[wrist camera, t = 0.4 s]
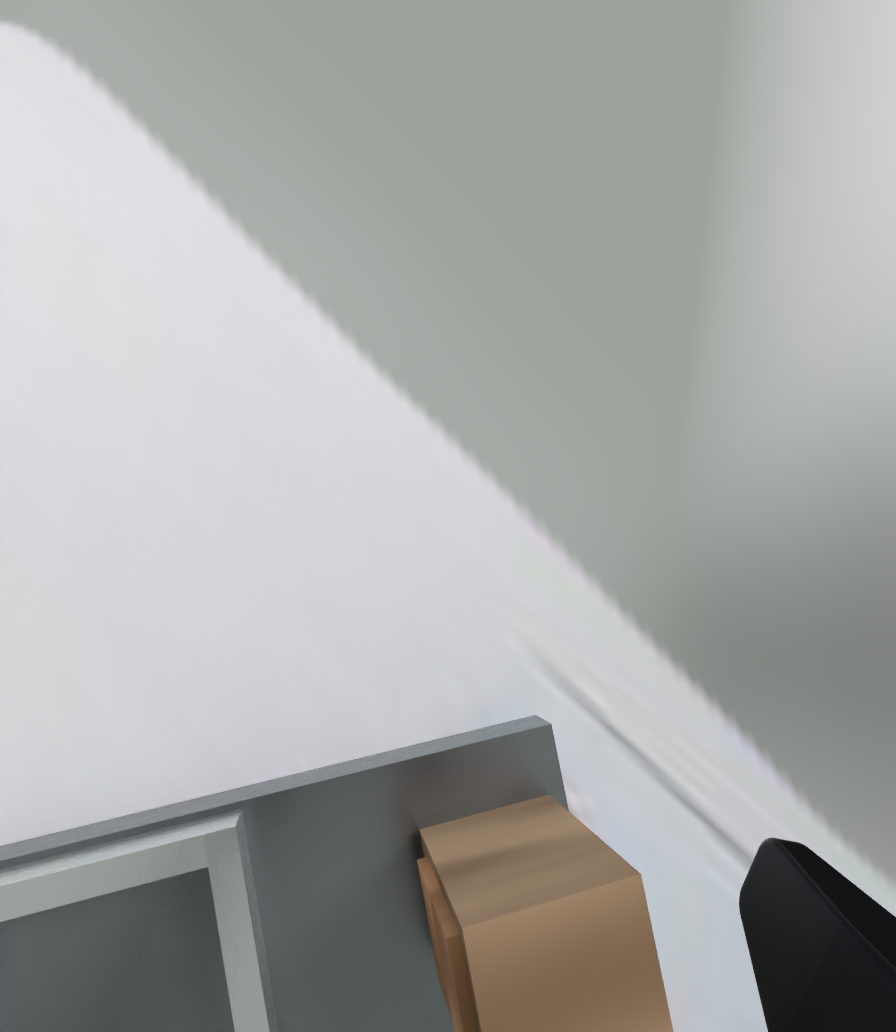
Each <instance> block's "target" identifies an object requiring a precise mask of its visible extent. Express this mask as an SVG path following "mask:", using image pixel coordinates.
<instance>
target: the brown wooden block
mask: <svg viewBox="0 0 896 1032" xmlns="http://www.w3.org/2000/svg"><path fill="white" fill-rule="evenodd" d="M420 836H421V841H422V847H423V852H424V858H421V859H417V864H418V869H419V875H420V880H421V886H422V891H423V897H424V902H425V908H426V913H427V918H428V924H429V929H430V935H431V940H432V946H433V951H434V957H435V962H436V968H437V973H438V978H439V982H440V986H441V989H442V992H443V995H444V998H445V1001H446V1005H447V1008H448V1011H449V1014H450V1017H451V1021H452V1024H453V1027H454V1030H455V1032H673V1028H672V1023H671V1018H670V1013H669V1008H668V1004H667V999H666V994H665V989H664V984H663V979H662V974H661V970H660V965H659V960H658V955H657V950H656V945H655V941H654V936H653V931H652V926H651V921H650V916H649V912H648V907H647V902H646V897H645V892H644V887H643V883H642V878H641V874H640V873H639V872H638V871H637V870H636V869H634V868H633V867H632V866H631V865H630V864H629V863H627V862H626V861H625V860H624V859H623V858H622V857H621V856H619V855H618V854H617V853H616V852H615V851H614V850H613V849H611V848H610V847H609V846H608V845H607V844H606V843H604V842H603V841H602V840H601V839H600V838H599V837H598V836H596V835H595V834H594V833H593V832H592V831H591V830H589V829H588V828H587V827H586V826H585V825H584V824H583V823H581V822H580V821H579V820H578V819H577V818H576V817H574V816H573V815H572V814H571V813H570V812H569V811H568V810H566V809H565V808H564V807H563V806H562V805H561V804H559V803H558V802H557V801H556V800H555V799H554V798H553V797H551V796H550V795H545V796H541V797H538V798H534V799H530V800H527V801H523V802H519V803H516V804H512V805H508V806H504V807H501V808H497V809H493V810H490V811H486V812H482V813H479V814H475V815H471V816H468V817H464V818H460V819H457V820H453V821H449V822H445V823H442V824H438V825H434V826H431V827H427V828H423V829H420Z"/></svg>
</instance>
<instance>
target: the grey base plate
mask: <svg viewBox="0 0 896 1032" xmlns="http://www.w3.org/2000/svg"><path fill="white" fill-rule="evenodd" d="M545 795H550V796H551V797H553V798H554V799H555V800H556V801H557V802H558V803H559V804H561V805H562V806H563V807H564V808H565V809H566V810H568V805H567V800H566V795H565V790H564V785H563V780H562V775H561V770H560V765H559V760H558V755H557V750H556V745H555V740H554V735H553V730H552V725H551V723H549V722H547V721H545V720H544V719H542V718H540V717H538V716H536V715H535V716H531V717H527V718H523V719H519V720H515V721H510V722H506V723H502V724H498V725H494V726H490V727H486V728H482V729H478V730H474V731H470V732H466V733H461V734H457V735H453V736H449V737H445V738H441V739H437V740H433V741H429V742H425V743H421V744H417V745H413V746H408V747H404V748H400V749H396V750H392V751H388V752H384V753H380V754H376V755H372V756H368V757H364V758H359V759H355V760H351V761H347V762H343V763H339V764H335V765H331V766H327V767H323V768H319V769H315V770H311V771H306V772H302V773H298V774H294V775H290V776H286V777H282V778H278V779H274V780H270V781H266V782H262V783H257V784H253V785H249V786H245V787H241V788H237V789H233V790H229V791H225V792H221V793H217V794H213V795H209V796H204V797H200V798H196V799H192V800H188V801H184V802H180V803H176V804H172V805H168V806H164V807H160V808H155V809H151V810H147V811H143V812H139V813H135V814H131V815H127V816H123V817H119V818H115V819H111V820H106V821H102V822H98V823H94V824H90V825H86V826H82V827H78V828H74V829H70V830H66V831H62V832H58V833H53V834H49V835H45V836H41V837H37V838H33V839H29V840H25V841H21V842H17V843H13V844H9V845H4V846H0V1032H455V1030H454V1027H453V1024H452V1021H451V1017H450V1014H449V1011H448V1008H447V1005H446V1001H445V998H444V995H443V992H442V989H441V986H440V982H439V978H438V973H437V968H436V962H435V957H434V951H433V946H432V940H431V935H430V929H429V924H428V918H427V913H426V908H425V902H424V897H423V891H422V886H421V880H420V875H419V869H418V864H417V859H421V858H424V852H423V847H422V841H421V836H420V829H423V828H427V827H431V826H434V825H438V824H442V823H445V822H449V821H453V820H457V819H460V818H464V817H468V816H471V815H475V814H479V813H482V812H486V811H490V810H493V809H497V808H501V807H504V806H508V805H512V804H516V803H519V802H523V801H527V800H530V799H534V798H538V797H541V796H545ZM568 811H569V810H568Z"/></svg>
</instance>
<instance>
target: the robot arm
mask: <svg viewBox="0 0 896 1032" xmlns="http://www.w3.org/2000/svg"><path fill="white" fill-rule="evenodd" d="M739 908H740V915H741V919H742V923H743V928H744V932H745V936H746V940H747V944H748V949H749V953H750V957H751V961H752V966H753V970H754V974H755V978H756V982H757V987H758V991H759V995H760V999H761V1003H762V1008H763V1012H764V1016H765V1020H766V1025H767V1029H768V1032H896V917H895V916H893V915H892V914H891V913H890V912H888V911H887V910H886V909H885V908H883V907H882V906H881V905H880V904H878V903H877V902H876V901H874V900H873V899H872V898H871V897H869V896H868V895H867V894H866V893H864V892H863V891H862V890H861V889H859V888H858V887H857V886H856V885H854V884H853V883H852V882H851V881H849V880H848V879H847V878H846V877H844V876H843V875H842V874H841V873H839V872H838V871H837V870H835V869H834V868H833V867H832V866H830V865H829V864H828V863H827V862H825V861H824V860H823V859H822V858H820V857H819V856H818V855H817V854H815V853H814V852H813V851H812V850H810V849H809V848H808V847H806V846H805V845H803V844H801V843H798V842H793V841H788V840H782V839H777V838H768V839H766V840H765V841H763V842H762V843H761V845H760V847H759V849H758V851H757V854H756V856H755V858H754V861H753V863H752V865H751V867H750V870H749V872H748V874H747V877H746V879H745V881H744V883H743V886H742V888H741V892H740V897H739Z"/></svg>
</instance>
